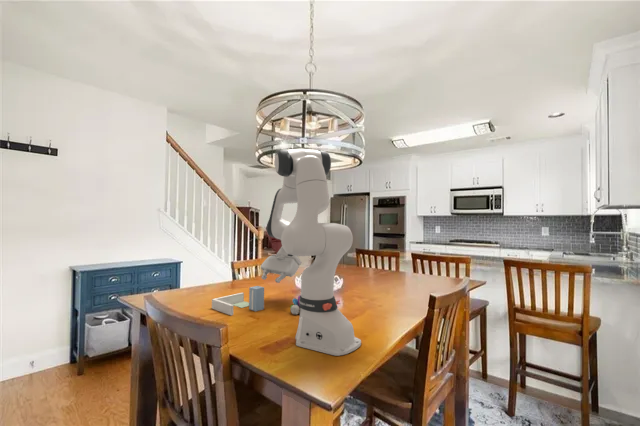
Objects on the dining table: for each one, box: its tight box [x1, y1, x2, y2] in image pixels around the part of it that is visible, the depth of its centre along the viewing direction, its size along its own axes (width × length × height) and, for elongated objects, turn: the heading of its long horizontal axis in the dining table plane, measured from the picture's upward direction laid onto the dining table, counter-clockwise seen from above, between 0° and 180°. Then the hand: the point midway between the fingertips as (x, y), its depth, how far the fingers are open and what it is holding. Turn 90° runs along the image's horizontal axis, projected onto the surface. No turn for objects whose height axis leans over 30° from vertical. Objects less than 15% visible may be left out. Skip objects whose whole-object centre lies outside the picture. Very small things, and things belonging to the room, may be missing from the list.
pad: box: [232, 300, 249, 309], centre depth 145 cm, size 7×7×1 cm
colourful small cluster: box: [289, 295, 300, 315], centre depth 135 cm, size 8×10×7 cm
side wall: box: [213, 298, 235, 316], centre depth 135 cm, size 13×1×4 cm, turn 50°
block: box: [248, 285, 265, 312], centre depth 139 cm, size 4×5×10 cm
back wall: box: [211, 292, 245, 310], centre depth 145 cm, size 1×16×4 cm, turn 140°
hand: (269, 280), depth 145 cm, fingers open, 8 cm apart
